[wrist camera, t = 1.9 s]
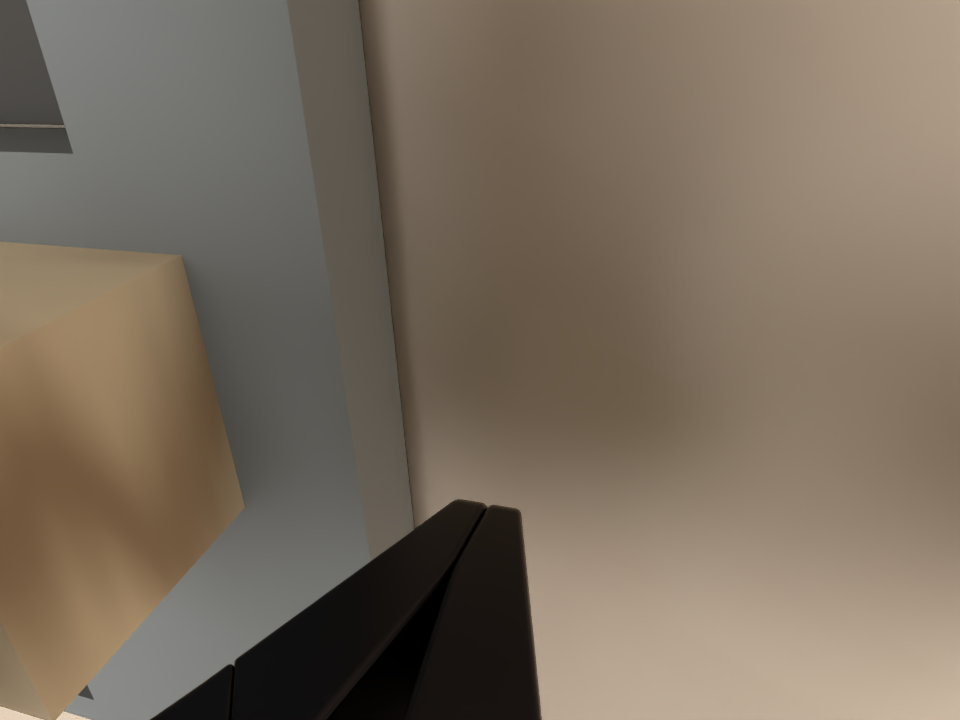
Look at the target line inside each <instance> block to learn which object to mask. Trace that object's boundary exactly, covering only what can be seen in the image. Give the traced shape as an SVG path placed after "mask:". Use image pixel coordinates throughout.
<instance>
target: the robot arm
mask: <svg viewBox="0 0 960 720" xmlns="http://www.w3.org/2000/svg"><path fill="white" fill-rule="evenodd" d="M150 720H542V716H541V706H540V696H539V686H538V676H537V666H536V656H535V646H534V636H533V626H532V616H531V606H530V596H529V586H528V576H527V566H526V556H525V546H524V536H523V526H522V517H521V512H520V510H518V509H516V508H511V507H505V506H499V505H491V506H489V507H487V506H486V505H485V504H484V503H480V502H474V501H468V500H462V499H458V500H455V501H453V502H451V503H450V504H448V505H447V506H446V507H444V508H443V509H442V510H440V511H439V512H437V513H436V514H435V515H433V516H432V517H431V518H429V519H428V520H426V521H425V522H424V523H422V524H421V525H420V526H418V527H417V528H415V529H414V530H413V531H411V532H410V533H409V534H407V535H406V536H404V537H403V538H402V539H400V540H399V541H398V542H396V543H395V544H393V545H392V546H391V547H389V548H388V549H387V550H385V551H384V552H382V553H381V554H380V555H378V556H377V557H376V558H374V559H373V560H371V561H370V562H369V563H367V564H366V565H365V566H363V567H362V568H360V569H359V570H358V571H356V572H355V573H354V574H352V575H351V576H349V577H348V578H347V579H345V580H344V581H343V582H341V583H340V584H338V585H337V586H336V587H334V588H333V589H332V590H330V591H329V592H327V593H326V594H325V595H323V596H322V597H320V598H319V599H318V600H316V601H315V602H314V603H312V604H311V605H309V606H308V607H307V608H305V609H304V610H303V611H301V612H300V613H298V614H297V615H296V616H294V617H293V618H292V619H290V620H289V621H287V622H286V623H285V624H283V625H282V626H281V627H279V628H278V629H276V630H275V631H274V632H272V633H271V634H270V635H268V636H267V637H265V638H264V639H263V640H261V641H260V642H259V643H257V644H256V645H254V646H253V647H252V648H250V649H249V650H248V651H246V652H245V653H243V654H242V655H241V656H239V657H238V658H237V659H236V660H235V662H234V665H232V664H228V665H226V666H225V667H224V668H222V669H221V670H220V671H218V672H217V673H215V674H214V675H213V676H211V677H210V678H209V679H207V680H206V681H204V682H203V683H202V684H200V685H199V686H197V687H196V688H195V689H193V690H192V691H190V692H189V693H187V694H186V695H185V696H183V697H182V698H180V699H179V700H177V701H176V702H174V703H173V704H172V705H170V706H169V707H167V708H166V709H164V710H163V711H161V712H160V713H159V714H157V715H156V716H154V717H153V718H151V719H150Z"/></svg>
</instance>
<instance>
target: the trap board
mask: <svg viewBox="0 0 960 720" xmlns="http://www.w3.org/2000/svg"><path fill="white" fill-rule="evenodd" d="M0 124H52V125H65V128H15V127H0V242H11V243H25V244H38V245H52V246H65V247H79V248H92V249H105V250H119V251H132V252H146V253H159V254H173V255H182V259H183V263H184V267H185V271H186V275H187V279H188V283H189V287H190V291H191V295H192V299H193V303H194V307H195V311H196V315H197V319H198V323H199V327H200V331H201V334H202V338H203V342H204V346H205V350H206V354H207V358H208V362H209V366H210V370H211V374H212V378H213V382H214V386H215V390H216V394H217V398H218V402H219V406H220V410H221V414H222V418H223V422H224V426H225V430H226V434H227V437H228V441H229V445H230V449H231V453H232V457H233V461H234V465H235V469H236V473H237V477H238V481H239V485H240V489H241V493H242V497H243V501H244V505H245V508H244V509H243V510H242V511H241V512H240V513H239V515H238V516H237V517H236V518H235V519H234V520H233V521H232V522H231V523H230V525H229V526H228V527H227V528H226V529H225V530H224V531H223V532H222V534H221V535H220V536H219V537H218V538H217V539H216V540H215V541H214V543H213V544H212V545H211V546H210V547H209V548H208V549H207V550H206V552H205V553H204V554H203V555H202V556H201V557H200V558H199V559H198V561H197V562H196V563H195V564H194V565H193V566H192V567H191V568H190V570H189V571H188V572H187V573H186V574H185V575H184V576H183V577H182V579H181V580H180V581H179V582H178V583H177V584H176V585H175V586H174V587H173V589H172V590H171V591H170V592H169V593H168V594H167V595H166V596H165V598H164V599H163V600H162V601H161V602H160V603H159V604H158V605H157V607H156V608H155V609H154V610H153V611H152V612H151V613H150V614H149V616H148V617H147V618H146V619H145V620H144V621H143V622H142V623H141V625H140V626H139V627H138V628H137V629H136V630H135V631H134V632H133V634H132V635H131V636H130V637H129V638H128V639H127V640H126V641H125V642H124V644H123V645H122V646H121V647H120V648H119V649H118V650H117V651H116V653H115V654H114V655H113V656H112V657H111V658H110V659H109V660H108V662H107V663H106V664H105V665H104V666H103V667H102V668H101V669H100V671H99V672H98V673H97V674H96V675H95V676H94V677H93V678H92V680H91V681H90V682H89V683H88V684H87V685H86V686H85V687H84V689H83V690H82V691H81V692H80V693H79V694H78V695H77V696H76V698H75V699H74V700H73V701H72V702H71V703H70V704H69V705H68V706H67V708H66V709H65V710H64V711H65V712H68V713H72V714H75V715H78V716H82V717H85V718H88V719H92V720H150V719H151V718H153V717H154V716H156V715H157V714H159V713H160V712H161V711H163V710H164V709H166V708H167V707H169V706H170V705H172V704H173V703H174V702H176V701H177V700H179V699H180V698H182V697H183V696H185V695H186V694H187V693H189V692H190V691H192V690H193V689H195V688H196V687H197V686H199V685H200V684H202V683H203V682H204V681H206V680H207V679H209V678H210V677H211V676H213V675H214V674H215V673H217V672H218V671H220V670H221V669H222V668H224V667H225V666H226V665H228V664H232V665H234V662H235V660H236V659H237V658H238V657H239V656H241V655H242V654H243V653H245V652H246V651H248V650H249V649H250V648H252V647H253V646H254V645H256V644H257V643H259V642H260V641H261V640H263V639H264V638H265V637H267V636H268V635H270V634H271V633H272V632H274V631H275V630H276V629H278V628H279V627H281V626H282V625H283V624H285V623H286V622H287V621H289V620H290V619H292V618H293V617H294V616H296V615H297V614H298V613H300V612H301V611H303V610H304V609H305V608H307V607H308V606H309V605H311V604H312V603H314V602H315V601H316V600H318V599H319V598H320V597H322V596H323V595H325V594H326V593H327V592H329V591H330V590H332V589H333V588H334V587H336V586H337V585H338V584H340V583H341V582H343V581H344V580H345V579H347V578H348V577H349V576H351V575H352V574H354V573H355V572H356V571H358V570H359V569H360V568H362V567H363V566H365V565H366V564H367V563H369V562H370V561H371V560H373V559H374V558H376V557H377V556H378V555H380V554H381V553H382V552H384V551H385V550H387V549H388V548H389V547H391V546H392V545H393V544H395V543H396V542H398V541H399V540H400V539H402V538H403V537H404V536H406V535H407V534H409V533H410V532H411V531H413V530H414V522H413V513H412V503H411V494H410V484H409V475H408V465H407V456H406V446H405V437H404V427H403V418H402V409H401V399H400V390H399V380H398V371H397V361H396V352H395V342H394V333H393V323H392V314H391V304H390V295H389V285H388V276H387V267H386V257H385V248H384V238H383V229H382V219H381V210H380V200H379V191H378V181H377V172H376V162H375V153H374V143H373V134H372V125H371V115H370V106H369V96H368V87H367V77H366V68H365V58H364V49H363V39H362V30H361V20H360V11H359V1H358V0H0Z"/></svg>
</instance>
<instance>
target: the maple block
mask: <svg viewBox="0 0 960 720" xmlns="http://www.w3.org/2000/svg"><path fill="white" fill-rule="evenodd" d="M244 508H245V505H244V501H243V497H242V493H241V489H240V485H239V481H238V477H237V473H236V469H235V465H234V461H233V457H232V453H231V449H230V445H229V441H228V437H227V434H226V430H225V426H224V422H223V418H222V414H221V410H220V406H219V402H218V398H217V394H216V390H215V386H214V382H213V378H212V374H211V370H210V366H209V362H208V358H207V354H206V350H205V346H204V342H203V338H202V334H201V331H200V327H199V323H198V319H197V315H196V311H195V307H194V303H193V299H192V295H191V291H190V287H189V283H188V279H187V275H186V271H185V267H184V263H183V259H182V255H173V254H159V253H146V252H132V251H119V250H105V249H92V248H79V247H65V246H52V245H38V244H25V243H11V242H0V706H1V707H5V708H8V709H11V710H14V711H18V712H21V713H24V714H27V715H31V716H34V717H37V718H40V719H44V720H56V719H57V718H58V717H59V715H60V714H61V713H62V712H63V711H64V710H65V709H66V708H67V706H68V705H69V704H70V703H71V702H72V701H73V700H74V699H75V698H76V696H77V695H78V694H79V693H80V692H81V691H82V690H83V689H84V687H85V686H86V685H87V684H88V683H89V682H90V681H91V680H92V678H93V677H94V676H95V675H96V674H97V673H98V672H99V671H100V669H101V668H102V667H103V666H104V665H105V664H106V663H107V662H108V660H109V659H110V658H111V657H112V656H113V655H114V654H115V653H116V651H117V650H118V649H119V648H120V647H121V646H122V645H123V644H124V642H125V641H126V640H127V639H128V638H129V637H130V636H131V635H132V634H133V632H134V631H135V630H136V629H137V628H138V627H139V626H140V625H141V623H142V622H143V621H144V620H145V619H146V618H147V617H148V616H149V614H150V613H151V612H152V611H153V610H154V609H155V608H156V607H157V605H158V604H159V603H160V602H161V601H162V600H163V599H164V598H165V596H166V595H167V594H168V593H169V592H170V591H171V590H172V589H173V587H174V586H175V585H176V584H177V583H178V582H179V581H180V580H181V579H182V577H183V576H184V575H185V574H186V573H187V572H188V571H189V570H190V568H191V567H192V566H193V565H194V564H195V563H196V562H197V561H198V559H199V558H200V557H201V556H202V555H203V554H204V553H205V552H206V550H207V549H208V548H209V547H210V546H211V545H212V544H213V543H214V541H215V540H216V539H217V538H218V537H219V536H220V535H221V534H222V532H223V531H224V530H225V529H226V528H227V527H228V526H229V525H230V523H231V522H232V521H233V520H234V519H235V518H236V517H237V516H238V515H239V513H240V512H241V511H242V510H243V509H244Z"/></svg>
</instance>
